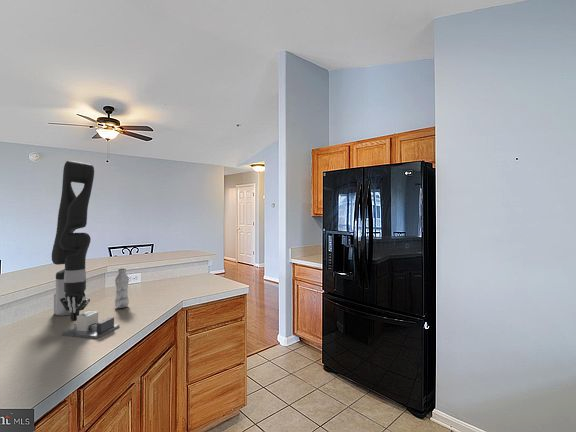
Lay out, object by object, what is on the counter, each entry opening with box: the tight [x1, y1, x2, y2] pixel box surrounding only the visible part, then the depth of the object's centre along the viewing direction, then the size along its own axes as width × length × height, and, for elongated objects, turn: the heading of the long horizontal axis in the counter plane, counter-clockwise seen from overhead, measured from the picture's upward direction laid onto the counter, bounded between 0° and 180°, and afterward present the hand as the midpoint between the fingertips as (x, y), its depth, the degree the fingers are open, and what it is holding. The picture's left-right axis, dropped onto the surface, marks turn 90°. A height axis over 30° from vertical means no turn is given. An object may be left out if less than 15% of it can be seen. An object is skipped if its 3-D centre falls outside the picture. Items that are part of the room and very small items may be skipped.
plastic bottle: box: [114, 268, 130, 309], centre depth 151 cm, size 6×7×20 cm
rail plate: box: [61, 316, 120, 339], centre depth 122 cm, size 16×12×5 cm
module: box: [76, 310, 99, 331], centre depth 122 cm, size 4×6×6 cm
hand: (74, 320), depth 123 cm, fingers closed
